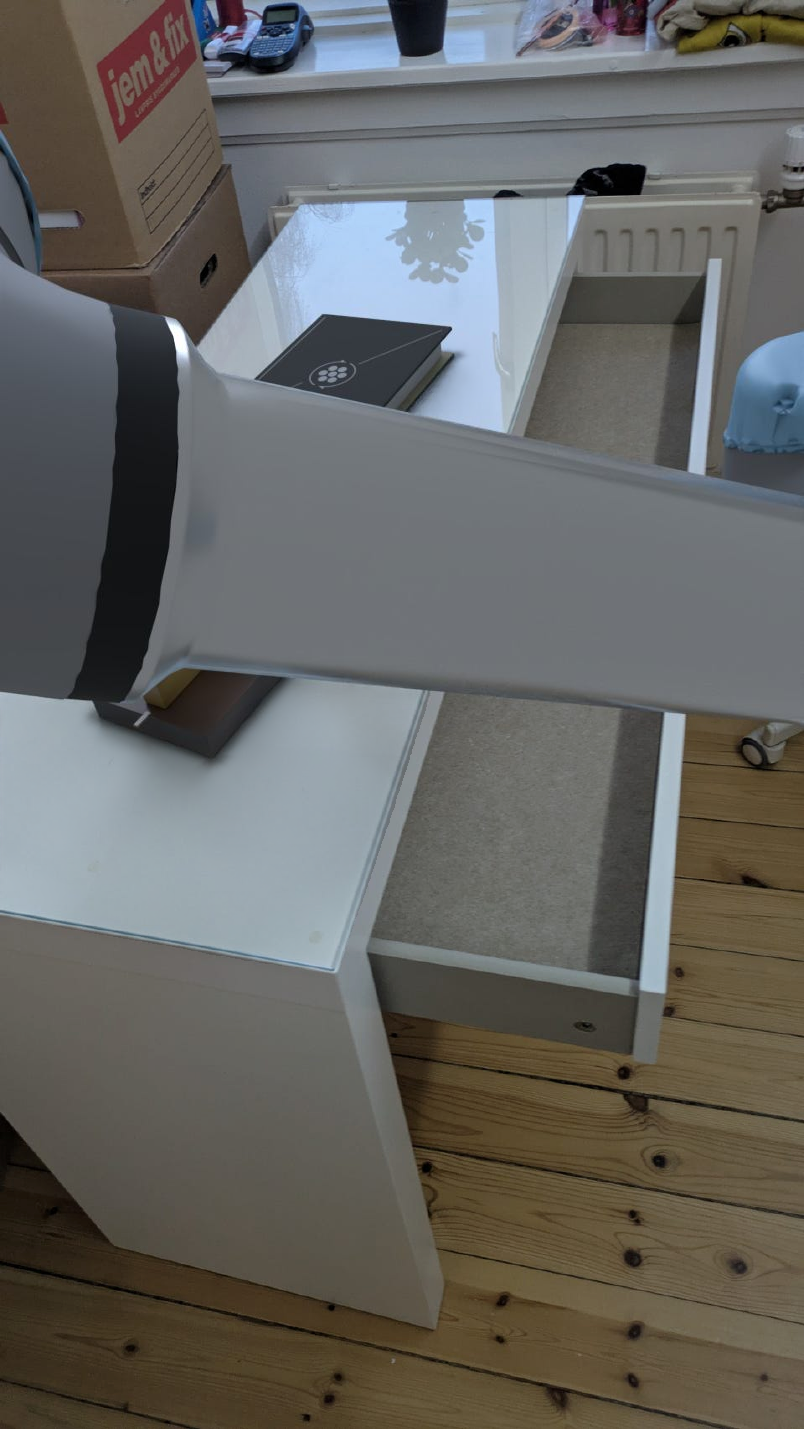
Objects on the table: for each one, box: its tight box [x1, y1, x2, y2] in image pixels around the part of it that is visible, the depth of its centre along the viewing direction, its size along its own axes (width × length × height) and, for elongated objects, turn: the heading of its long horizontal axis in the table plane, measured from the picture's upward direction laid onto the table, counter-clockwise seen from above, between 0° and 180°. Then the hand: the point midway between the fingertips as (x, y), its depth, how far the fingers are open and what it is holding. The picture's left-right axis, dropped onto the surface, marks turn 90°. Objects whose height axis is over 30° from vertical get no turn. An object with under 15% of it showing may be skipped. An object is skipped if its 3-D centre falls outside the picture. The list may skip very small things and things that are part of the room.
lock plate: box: [91, 670, 282, 758], centre depth 78 cm, size 16×10×2 cm, turn 151°
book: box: [253, 313, 455, 412], centre depth 104 cm, size 22×15×3 cm
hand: (256, 516), depth 70 cm, fingers closed
